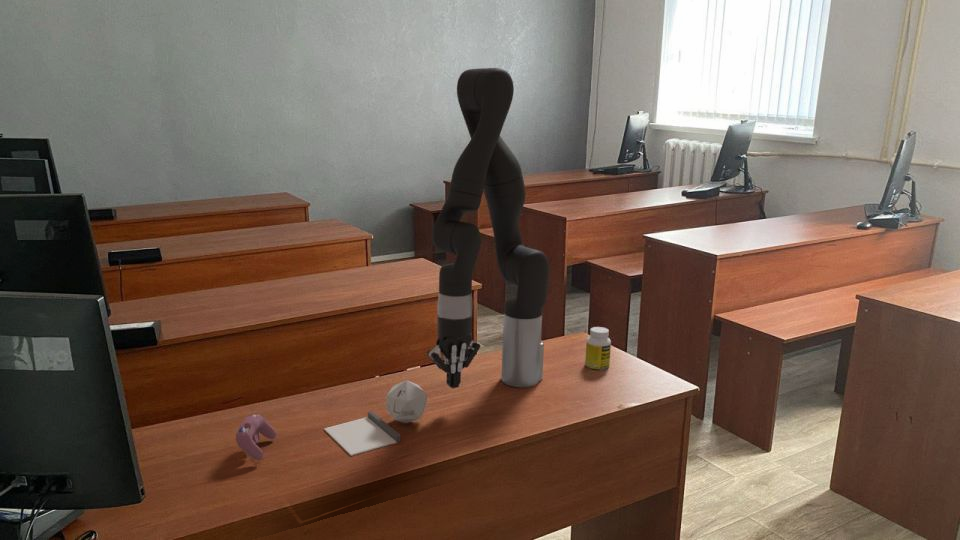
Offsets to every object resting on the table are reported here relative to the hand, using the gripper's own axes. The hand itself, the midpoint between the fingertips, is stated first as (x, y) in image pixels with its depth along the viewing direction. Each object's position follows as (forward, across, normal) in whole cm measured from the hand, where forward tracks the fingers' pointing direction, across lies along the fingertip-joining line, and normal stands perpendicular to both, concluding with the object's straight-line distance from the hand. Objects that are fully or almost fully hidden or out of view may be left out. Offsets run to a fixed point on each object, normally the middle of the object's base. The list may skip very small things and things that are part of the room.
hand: (453, 386), depth 160 cm
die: (+6, +12, 0) cm, 13 cm away
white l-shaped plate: (+6, +23, 0) cm, 24 cm away
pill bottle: (+6, -44, 0) cm, 45 cm away
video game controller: (+6, +42, -5) cm, 43 cm away
